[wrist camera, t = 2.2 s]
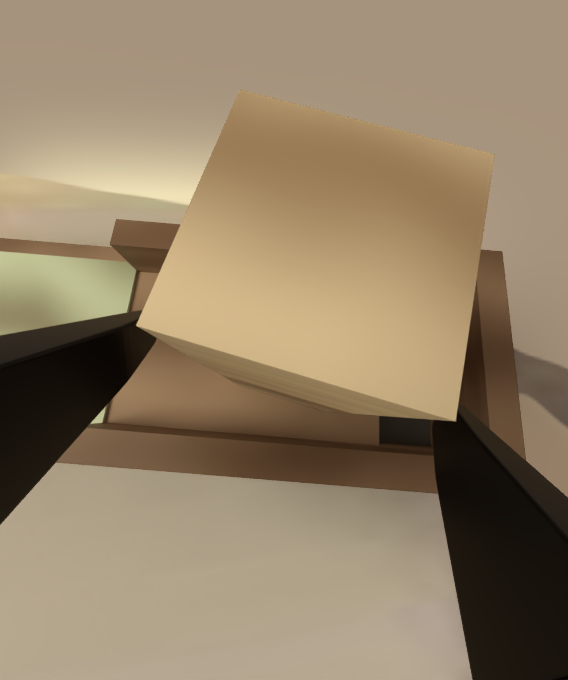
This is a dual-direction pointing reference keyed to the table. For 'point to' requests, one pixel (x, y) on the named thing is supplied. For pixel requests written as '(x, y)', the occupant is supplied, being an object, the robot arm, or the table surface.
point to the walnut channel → (231, 399)
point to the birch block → (328, 262)
